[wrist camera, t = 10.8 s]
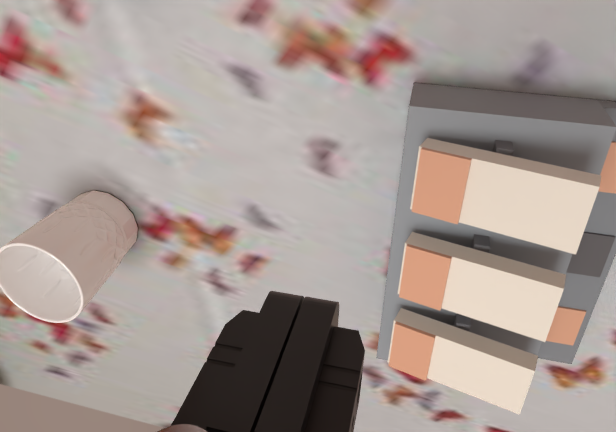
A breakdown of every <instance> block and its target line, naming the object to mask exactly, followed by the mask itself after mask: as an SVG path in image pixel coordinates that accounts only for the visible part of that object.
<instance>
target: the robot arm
mask: <svg viewBox="0 0 616 432" xmlns="http://www.w3.org/2000/svg"><path fill="white" fill-rule="evenodd" d="M338 316H339V302H334V301H328V300H322V299H317V298H311V297H305V298H304V297H303V296H298V295H293V294H287V293H281V292H275V291H270V292H269V294H268V296H267V298H266V300H265V302H264V304H263V306H262V308H261V311H260V313H257V312H251V311H246V310H243V311H241V312H240V313H239V314H238V315H236V316H235V317H234V318H233V319H231V320H230V321H229V322H228V323H227V324H225V326H224V328H223V330H222V332H221V334H220V335H219V337H218V339H217V341H216V343H215V347H213V349H212V350H211V352H210V354H209V356H208V358H207V362H205V363H204V365H203V367H202V369H201V371H200V373H199V375H198V377H197V378H196V380H195V382H194V384H193V386H192V388H191V390H190V391H189V393H188V395H187V397H186V399H185V401H184V403H183V405H182V406H181V408H180V410H179V412H178V414H177V416H176V418H175V419H174V421H173V423H172V424H171V426H169V427H166V428H163V429H161V430H160V431H157V432H353V430H354V425H355V420H356V414H357V409H358V404H359V397H360V389H361V380H362V371H363V362H364V353H365V350H364V347H363V344H362V340H361V337H360V334H359V331H357V330H351V329H346V328H340V327H338Z"/></svg>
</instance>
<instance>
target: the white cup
mask: <svg viewBox="0 0 616 432" xmlns="http://www.w3.org/2000/svg"><path fill="white" fill-rule="evenodd" d="M137 232H138V227H137V224H136V221H135V218H134V215H133V214H132V213H131V211H130V210H129V209H128V208H127V207H126V205H125V204H124V203H123V202H122V201H120V200H119V199H117V198H115V197H114V196H112V195H110V194H109V193H104V192H99V191H90V192H86V193H83V194H80V195H79V196H77V197H76V198H74V199H73V200H72V201H70V202H69V203H68V204H66V205H64V206H62V207H60V208H58V209H57V210H55V211H54V212H53V213H51V214H50V215H48V216H46V217H45V218H43V219H42V220H40V221H39V222H37V223H36V224H35V225H33V226H32V227H30V228H29V229H27V230H26V231H25V232H23V233H22V234H20V235H19V236H17V237H16V238H15V239H13V240H12V241H10V242H9V243H7V244H6V245H4V246H3V247H2V248H0V288H1V289H2V291H3V292H4V293H5V295H6V296H7V297H8V298H9V299H10V300H11V301H12V302H13V303H14V304H15V305H16V306H18V307H19V308H20V309H22V310H23V311H25V312H26V313H28V314H30V315H31V316H33V317H36V318H38V319H41V320H44V321H48V322H53V323H63V322H68V321H71V320H73V319H75V318H76V317H77V316H78V315H79V314H80V313H81V311H82V310H83V309H84V308H85V306H86V305H87V304H88V303H89V301H90V300H91V299H92V298H93V297H94V295H95V294H96V293H97V292H98V290H99V289H100V288H101V287H102V285H103V284H104V283H105V282H106V281H107V279H108V278H109V277H110V276H111V274H112V273H113V272H114V270H115V269H116V268H117V266H118V265H119V264H120V262H121V260H122V258H123V257H124V256H125V254H126V253H127V252H128V250H129V249H130V248H131V247H132V246H133V244H134V243H135V242H136V239H137Z"/></svg>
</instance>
